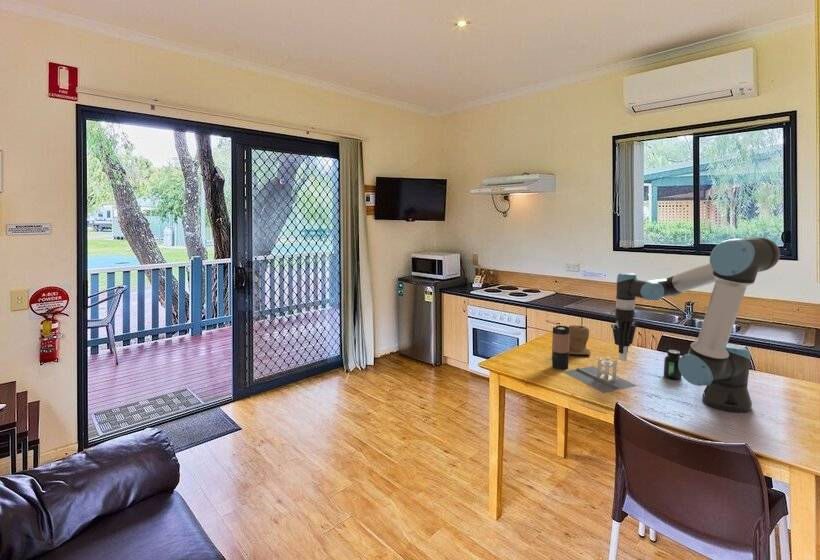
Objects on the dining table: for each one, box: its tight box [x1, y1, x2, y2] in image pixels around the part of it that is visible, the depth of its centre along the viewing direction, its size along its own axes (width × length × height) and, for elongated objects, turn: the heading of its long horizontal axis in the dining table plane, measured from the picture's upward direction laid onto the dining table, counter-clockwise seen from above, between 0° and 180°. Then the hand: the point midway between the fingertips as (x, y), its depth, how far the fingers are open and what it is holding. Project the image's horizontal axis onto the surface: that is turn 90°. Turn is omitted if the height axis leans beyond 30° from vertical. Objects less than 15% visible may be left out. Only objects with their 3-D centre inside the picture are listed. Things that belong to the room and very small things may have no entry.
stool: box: [597, 356, 618, 382], centre depth 189 cm, size 6×6×9 cm
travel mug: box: [551, 325, 570, 371], centre depth 204 cm, size 8×8×20 cm
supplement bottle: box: [663, 349, 683, 381], centre depth 189 cm, size 7×7×12 cm
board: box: [561, 365, 638, 394], centre depth 190 cm, size 26×18×1 cm
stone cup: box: [568, 324, 592, 356], centre depth 225 cm, size 15×12×15 cm
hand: (622, 359), depth 191 cm, fingers closed
